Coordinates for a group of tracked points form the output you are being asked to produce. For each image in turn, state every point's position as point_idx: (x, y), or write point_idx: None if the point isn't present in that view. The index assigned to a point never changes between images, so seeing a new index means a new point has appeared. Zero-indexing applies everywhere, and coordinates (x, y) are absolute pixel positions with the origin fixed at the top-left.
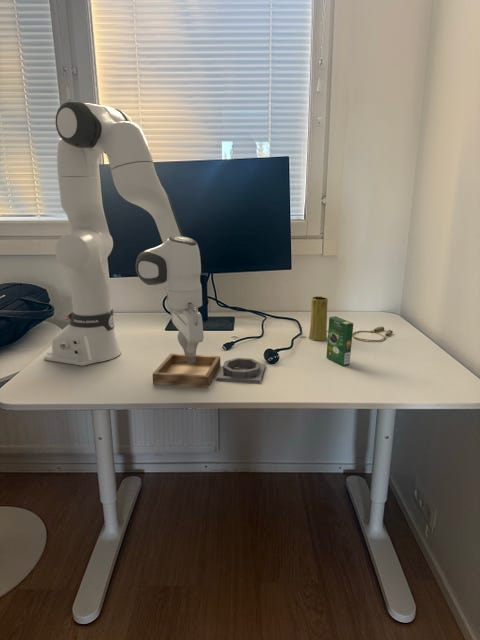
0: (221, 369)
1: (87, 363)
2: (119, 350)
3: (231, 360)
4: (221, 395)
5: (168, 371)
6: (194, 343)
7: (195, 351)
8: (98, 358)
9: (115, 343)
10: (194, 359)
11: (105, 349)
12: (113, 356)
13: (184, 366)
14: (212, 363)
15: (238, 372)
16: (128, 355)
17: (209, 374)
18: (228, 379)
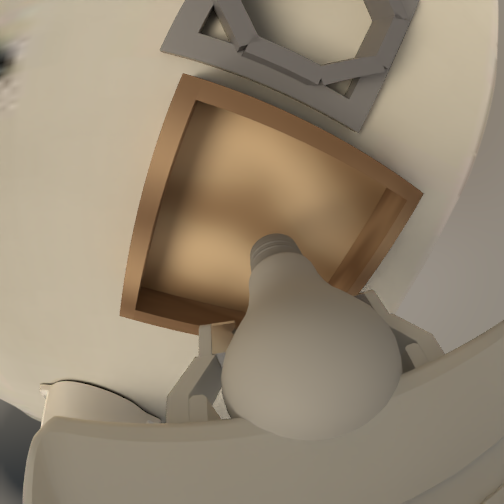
0: (273, 84)
1: (156, 419)
2: (80, 389)
3: (242, 19)
4: (448, 152)
5: (229, 300)
6: (412, 327)
7: (313, 269)
8: (138, 415)
9: (88, 413)
10: (297, 247)
11: (122, 422)
12: (112, 396)
13: (187, 248)
14: (190, 118)
15: (396, 45)
16: (85, 371)
17: (405, 181)
18: (378, 88)
